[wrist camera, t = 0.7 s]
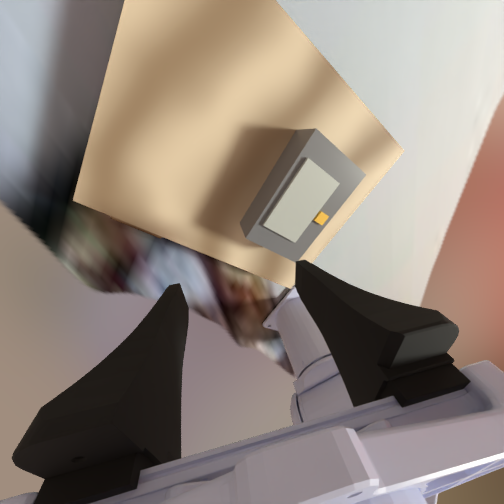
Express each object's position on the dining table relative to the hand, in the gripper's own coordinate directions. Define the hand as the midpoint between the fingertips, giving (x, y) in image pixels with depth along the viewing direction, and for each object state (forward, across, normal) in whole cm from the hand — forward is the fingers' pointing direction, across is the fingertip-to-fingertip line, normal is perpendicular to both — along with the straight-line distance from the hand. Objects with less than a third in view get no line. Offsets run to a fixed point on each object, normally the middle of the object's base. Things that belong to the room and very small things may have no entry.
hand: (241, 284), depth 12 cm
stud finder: (+6, -5, -3) cm, 9 cm away
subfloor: (+10, -3, -5) cm, 11 cm away
